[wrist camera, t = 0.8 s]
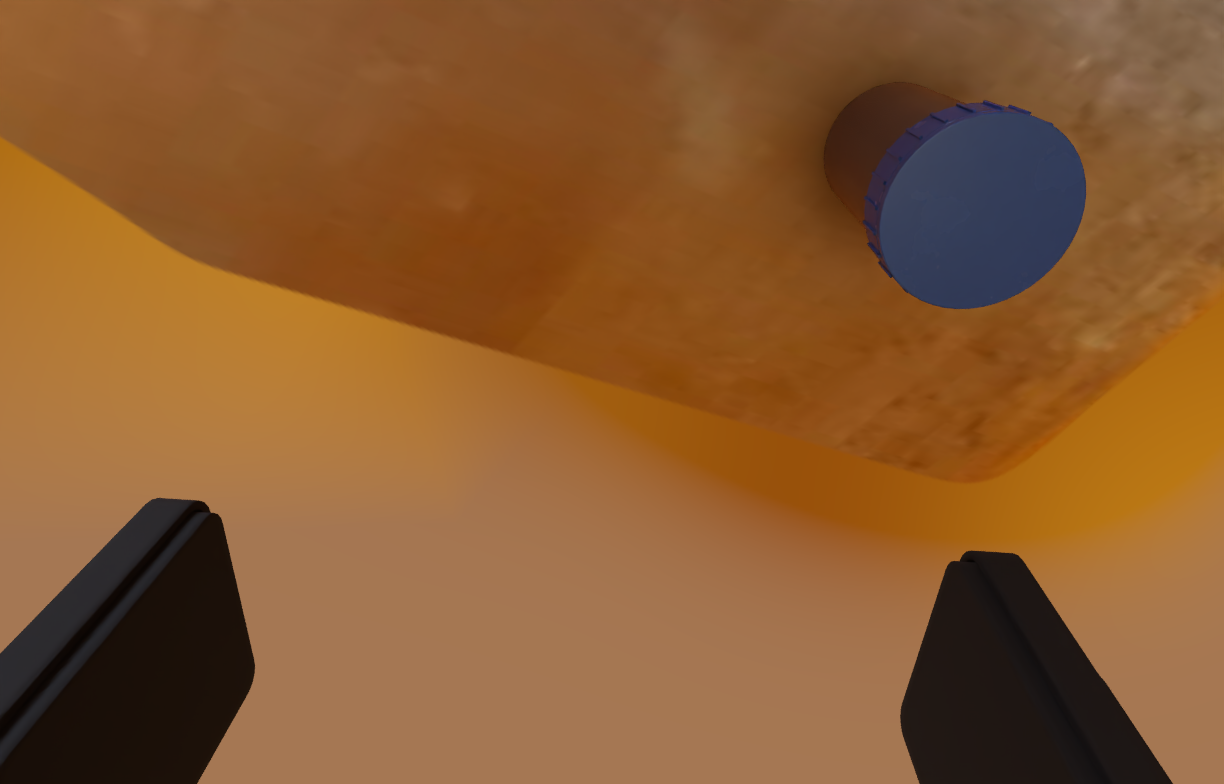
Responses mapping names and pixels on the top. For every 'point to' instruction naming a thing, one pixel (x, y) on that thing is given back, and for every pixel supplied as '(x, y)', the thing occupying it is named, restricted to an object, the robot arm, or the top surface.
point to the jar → (873, 136)
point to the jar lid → (974, 204)
